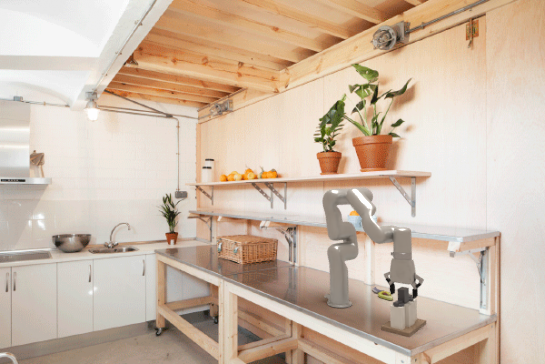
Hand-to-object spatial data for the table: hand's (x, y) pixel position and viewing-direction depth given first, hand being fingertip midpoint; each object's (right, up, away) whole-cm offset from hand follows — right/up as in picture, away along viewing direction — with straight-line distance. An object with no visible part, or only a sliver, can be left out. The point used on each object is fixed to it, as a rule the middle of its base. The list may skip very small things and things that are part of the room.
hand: (403, 295), depth 160 cm
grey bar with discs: (0, -3, 0) cm, 3 cm away
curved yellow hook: (+5, -15, +49) cm, 51 cm away
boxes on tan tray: (0, -13, 0) cm, 13 cm away
